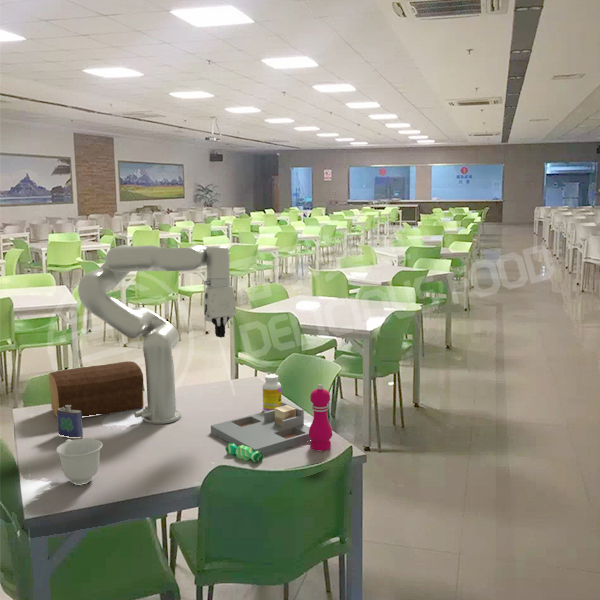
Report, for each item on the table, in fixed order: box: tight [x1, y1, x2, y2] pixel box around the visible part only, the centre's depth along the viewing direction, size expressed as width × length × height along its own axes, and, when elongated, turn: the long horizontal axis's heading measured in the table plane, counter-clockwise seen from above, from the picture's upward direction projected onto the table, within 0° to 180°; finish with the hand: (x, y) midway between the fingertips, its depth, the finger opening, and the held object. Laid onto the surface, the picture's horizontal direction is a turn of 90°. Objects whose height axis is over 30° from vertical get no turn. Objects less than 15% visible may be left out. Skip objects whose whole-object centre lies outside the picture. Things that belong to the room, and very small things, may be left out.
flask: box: [56, 405, 84, 438], centre depth 215 cm, size 9×3×11 cm, turn 68°
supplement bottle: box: [262, 373, 282, 412], centre depth 238 cm, size 7×7×13 cm
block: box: [275, 405, 296, 426], centre depth 219 cm, size 5×5×5 cm
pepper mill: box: [309, 383, 333, 452], centre depth 203 cm, size 7×7×20 cm
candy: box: [225, 442, 265, 464], centre depth 198 cm, size 12×3×4 cm
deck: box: [210, 401, 311, 456], centre depth 215 cm, size 24×26×8 cm
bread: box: [48, 361, 145, 419], centre depth 242 cm, size 18×30×16 cm, turn 119°
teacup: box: [55, 438, 103, 484], centre depth 184 cm, size 12×15×10 cm
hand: (220, 336), depth 226 cm, fingers closed
